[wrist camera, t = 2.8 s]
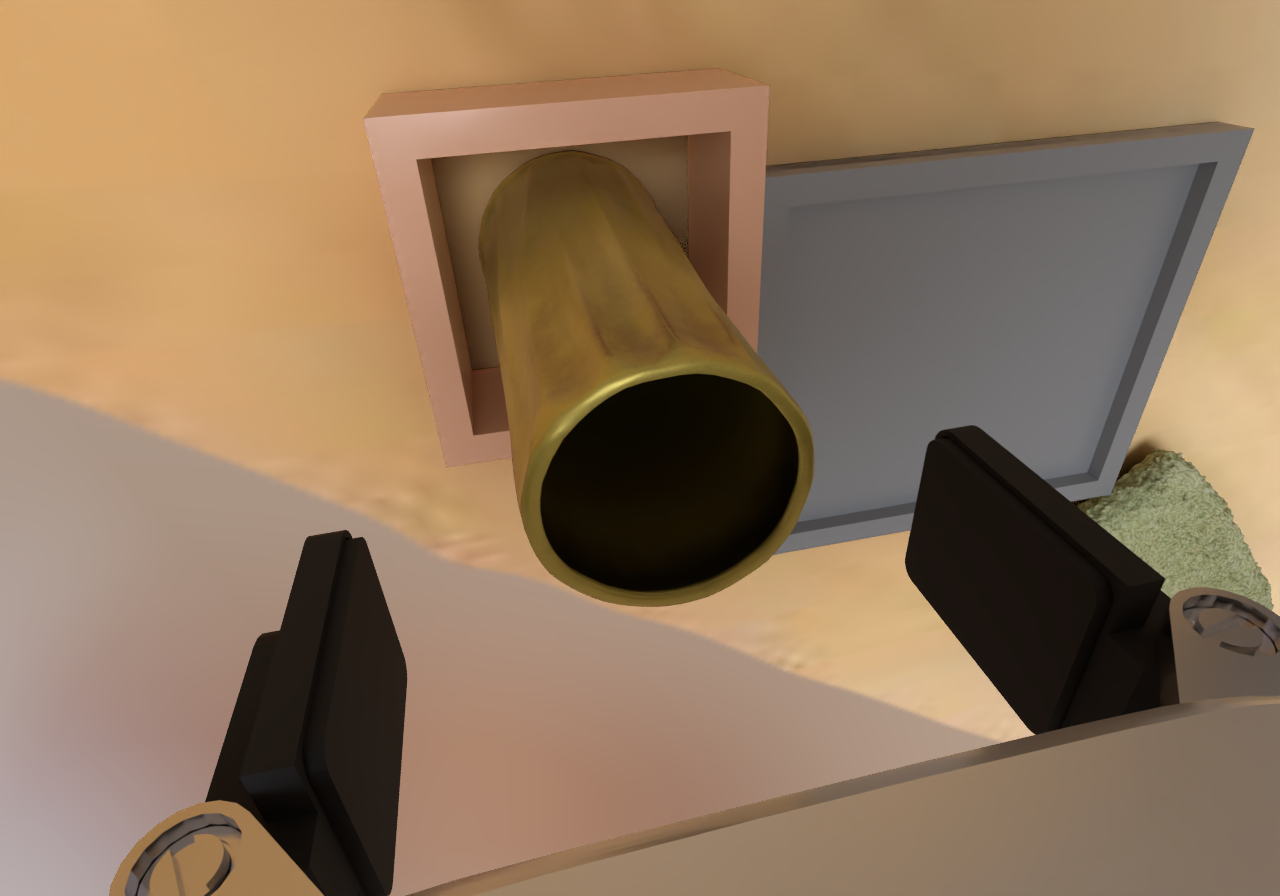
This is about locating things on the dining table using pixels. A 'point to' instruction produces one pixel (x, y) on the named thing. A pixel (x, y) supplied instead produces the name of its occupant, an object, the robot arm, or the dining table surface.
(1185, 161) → the tray
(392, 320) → the dining table surface
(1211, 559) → the washcloth
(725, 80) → the pink square frame
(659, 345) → the vase
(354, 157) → the dining table surface
